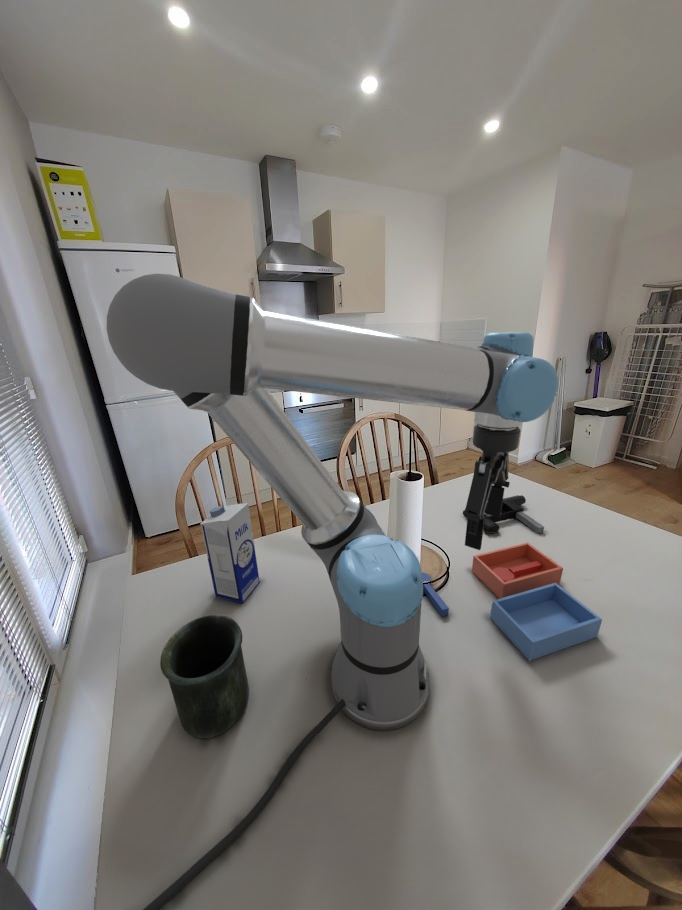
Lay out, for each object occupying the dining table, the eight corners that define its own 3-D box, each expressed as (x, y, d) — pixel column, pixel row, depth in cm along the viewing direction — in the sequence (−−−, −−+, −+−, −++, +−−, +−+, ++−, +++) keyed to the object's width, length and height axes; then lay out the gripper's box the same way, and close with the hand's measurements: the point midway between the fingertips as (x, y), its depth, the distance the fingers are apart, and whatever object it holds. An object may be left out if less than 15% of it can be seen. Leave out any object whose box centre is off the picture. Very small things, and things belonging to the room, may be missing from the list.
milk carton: (242, 604, 73) (227, 519, 66) (214, 597, 75) (197, 514, 68) (260, 581, 79) (248, 502, 72) (234, 575, 81) (220, 498, 74)
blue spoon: (455, 612, 69) (455, 606, 68) (435, 618, 68) (435, 612, 67) (424, 574, 79) (424, 568, 79) (406, 579, 78) (406, 573, 78)
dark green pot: (173, 757, 48) (152, 694, 43) (183, 663, 61) (169, 609, 56) (255, 729, 50) (244, 668, 46) (248, 646, 64) (239, 592, 59)
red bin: (501, 600, 71) (504, 584, 70) (471, 570, 80) (473, 555, 78) (559, 584, 75) (563, 568, 74) (525, 557, 84) (527, 542, 82)
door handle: (562, 519, 94) (516, 491, 108) (500, 535, 88) (460, 503, 102) (559, 530, 95) (514, 500, 109) (498, 546, 89) (459, 513, 103)
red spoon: (531, 562, 81) (532, 556, 80) (546, 574, 77) (547, 568, 76) (487, 574, 78) (487, 568, 77) (501, 587, 74) (501, 581, 73)
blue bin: (529, 661, 59) (532, 642, 57) (489, 617, 67) (492, 600, 66) (597, 637, 63) (602, 619, 61) (551, 598, 71) (555, 582, 70)
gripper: (501, 449, 51) (484, 571, 58) (534, 412, 69) (518, 508, 77) (450, 441, 55) (440, 555, 62) (494, 408, 74) (482, 499, 81)
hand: (483, 529), depth 70 cm, fingers open, 13 cm apart
